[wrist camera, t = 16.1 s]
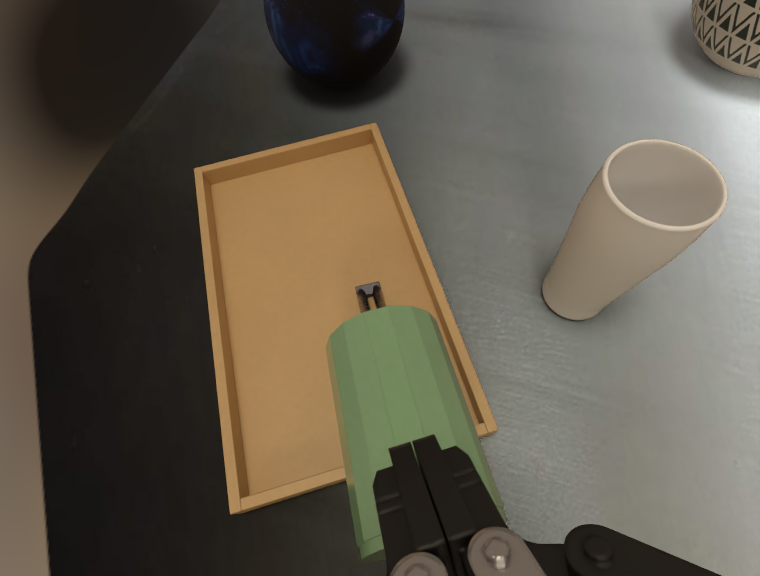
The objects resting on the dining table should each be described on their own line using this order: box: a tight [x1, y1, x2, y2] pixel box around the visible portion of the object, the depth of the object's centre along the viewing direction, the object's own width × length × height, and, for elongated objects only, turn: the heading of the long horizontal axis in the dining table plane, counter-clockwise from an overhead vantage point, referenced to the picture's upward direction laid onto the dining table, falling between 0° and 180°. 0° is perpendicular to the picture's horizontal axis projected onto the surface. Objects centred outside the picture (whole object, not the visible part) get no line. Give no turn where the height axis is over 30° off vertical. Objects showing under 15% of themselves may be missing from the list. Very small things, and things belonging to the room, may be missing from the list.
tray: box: [194, 123, 498, 514], centre depth 37 cm, size 20×33×3 cm, turn 16°
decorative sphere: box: [264, 0, 405, 87], centre depth 45 cm, size 15×15×15 cm
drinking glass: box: [542, 139, 728, 320], centre depth 30 cm, size 7×7×15 cm
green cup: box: [326, 306, 507, 562], centre depth 26 cm, size 8×8×13 cm
